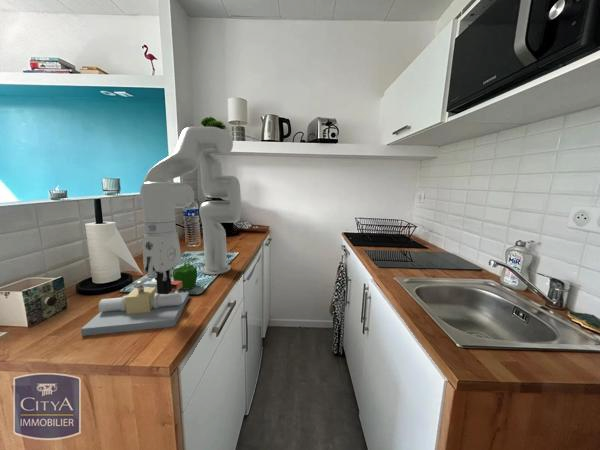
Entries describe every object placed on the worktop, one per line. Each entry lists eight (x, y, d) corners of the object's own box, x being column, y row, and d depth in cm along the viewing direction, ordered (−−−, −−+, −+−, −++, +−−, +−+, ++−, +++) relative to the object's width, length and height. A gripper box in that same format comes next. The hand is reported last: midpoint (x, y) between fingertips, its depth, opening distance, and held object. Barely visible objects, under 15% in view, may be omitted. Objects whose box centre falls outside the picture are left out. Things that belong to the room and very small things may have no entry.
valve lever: (131, 293, 72) (130, 282, 71) (140, 288, 75) (139, 278, 75) (177, 295, 70) (176, 284, 70) (183, 291, 74) (182, 280, 73)
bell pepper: (171, 287, 94) (169, 262, 92) (193, 281, 99) (191, 257, 98) (177, 294, 88) (175, 267, 86) (201, 288, 93) (199, 262, 92)
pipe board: (117, 303, 81) (114, 283, 80) (189, 297, 86) (187, 278, 84) (82, 335, 64) (78, 310, 62) (174, 326, 68) (172, 302, 67)
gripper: (155, 232, 59) (160, 305, 61) (188, 224, 74) (191, 283, 76) (125, 232, 60) (131, 304, 62) (164, 224, 74) (168, 283, 77)
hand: (164, 292), depth 69 cm, fingers closed
